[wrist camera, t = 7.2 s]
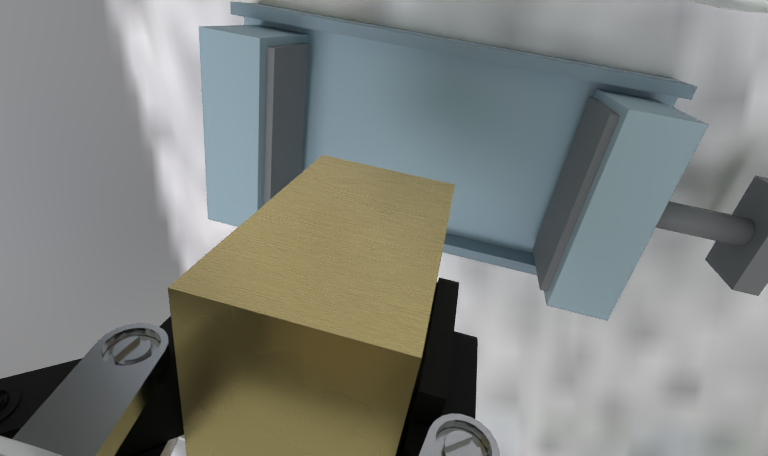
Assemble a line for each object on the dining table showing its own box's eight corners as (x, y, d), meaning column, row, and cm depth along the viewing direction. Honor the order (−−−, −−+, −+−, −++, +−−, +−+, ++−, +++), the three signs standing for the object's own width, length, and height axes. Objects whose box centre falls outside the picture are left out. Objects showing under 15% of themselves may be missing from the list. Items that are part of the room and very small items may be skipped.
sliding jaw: (796, 126, 21) (895, 160, 16) (696, 289, 26) (747, 355, 21) (589, 86, 22) (618, 107, 17) (529, 249, 27) (539, 303, 22)
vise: (673, 78, 23) (748, 103, 16) (588, 265, 28) (619, 339, 22) (257, 3, 26) (177, -2, 19) (255, 185, 31) (193, 230, 25)
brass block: (455, 184, 12) (421, 357, 6) (415, 340, 15) (365, 564, 9) (322, 154, 13) (167, 287, 7) (308, 310, 15) (191, 504, 9)
